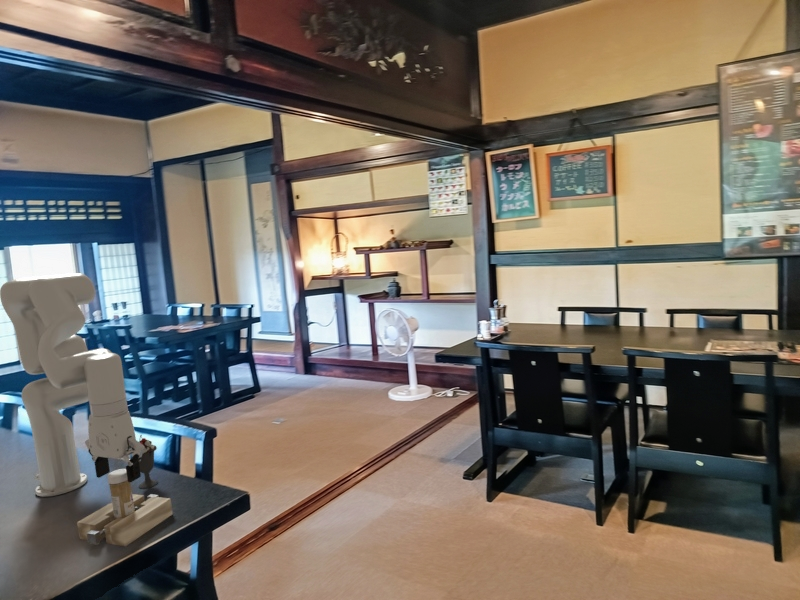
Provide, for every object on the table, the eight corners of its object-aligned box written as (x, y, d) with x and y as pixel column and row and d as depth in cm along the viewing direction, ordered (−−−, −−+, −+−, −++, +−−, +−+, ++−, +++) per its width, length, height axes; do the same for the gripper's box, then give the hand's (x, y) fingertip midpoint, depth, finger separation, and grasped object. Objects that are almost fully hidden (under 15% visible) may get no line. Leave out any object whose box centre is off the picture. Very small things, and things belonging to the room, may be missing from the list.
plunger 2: (130, 516, 130) (129, 507, 129) (152, 503, 136) (151, 494, 136) (137, 518, 129) (136, 508, 129) (159, 504, 135) (158, 495, 135)
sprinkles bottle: (138, 526, 127) (130, 472, 125) (116, 533, 124) (108, 478, 123) (135, 518, 131) (127, 466, 129) (114, 525, 128) (106, 471, 127)
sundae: (144, 492, 145) (136, 438, 143) (130, 487, 149) (122, 435, 147) (166, 481, 151) (159, 430, 149) (152, 477, 154) (144, 427, 153)
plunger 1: (88, 543, 119) (86, 533, 119) (114, 527, 125) (112, 517, 125) (96, 544, 118) (94, 534, 118) (122, 528, 125) (120, 518, 124)
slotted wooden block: (79, 538, 123) (77, 522, 123) (129, 508, 136) (127, 493, 136) (125, 546, 118) (122, 529, 118) (172, 514, 131) (170, 498, 131)
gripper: (67, 410, 124) (77, 480, 126) (123, 415, 118) (133, 489, 120) (95, 399, 131) (105, 466, 133) (150, 404, 125) (159, 474, 127)
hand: (118, 477), depth 127 cm, fingers open, 9 cm apart
